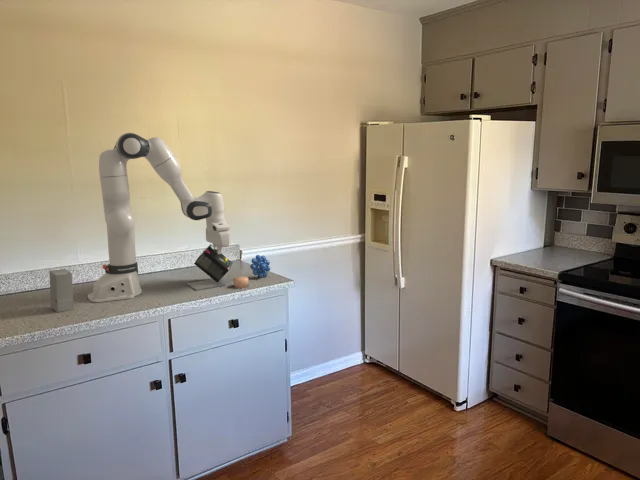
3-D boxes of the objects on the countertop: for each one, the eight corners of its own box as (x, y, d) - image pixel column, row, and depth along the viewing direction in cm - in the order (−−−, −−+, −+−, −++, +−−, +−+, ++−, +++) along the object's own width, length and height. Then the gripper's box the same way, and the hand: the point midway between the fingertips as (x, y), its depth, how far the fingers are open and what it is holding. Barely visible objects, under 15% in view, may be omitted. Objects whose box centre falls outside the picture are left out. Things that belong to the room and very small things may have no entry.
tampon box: (229, 270, 231) (205, 250, 228) (217, 283, 233) (193, 264, 230) (233, 262, 242) (210, 243, 239) (221, 274, 244) (198, 256, 241)
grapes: (255, 281, 238) (254, 257, 236) (248, 278, 243) (247, 255, 241) (275, 277, 246) (274, 254, 243) (267, 274, 251) (267, 252, 249)
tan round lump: (237, 289, 225) (237, 281, 225) (231, 285, 231) (231, 277, 230) (251, 286, 229) (251, 278, 229) (244, 283, 235) (244, 275, 234)
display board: (196, 290, 223) (196, 289, 223) (186, 284, 233) (186, 283, 233) (225, 285, 231) (225, 284, 231) (214, 279, 241) (214, 278, 241)
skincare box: (50, 308, 199) (46, 270, 196) (69, 304, 204) (65, 267, 201) (57, 313, 193) (53, 274, 190) (76, 309, 198) (72, 271, 195)
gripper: (201, 223, 237) (203, 250, 240) (218, 228, 221) (220, 258, 223) (213, 221, 241) (215, 248, 243) (231, 226, 224) (233, 255, 227)
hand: (218, 253), depth 233 cm, fingers closed
